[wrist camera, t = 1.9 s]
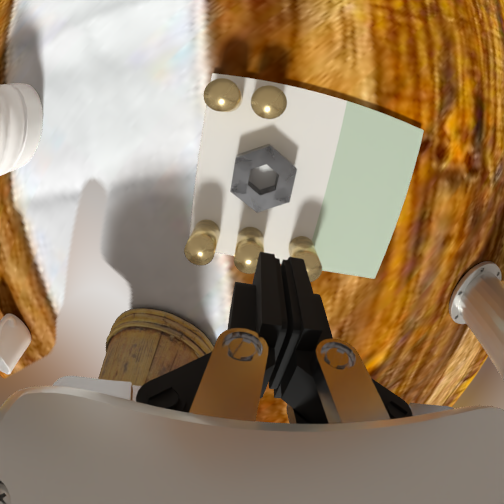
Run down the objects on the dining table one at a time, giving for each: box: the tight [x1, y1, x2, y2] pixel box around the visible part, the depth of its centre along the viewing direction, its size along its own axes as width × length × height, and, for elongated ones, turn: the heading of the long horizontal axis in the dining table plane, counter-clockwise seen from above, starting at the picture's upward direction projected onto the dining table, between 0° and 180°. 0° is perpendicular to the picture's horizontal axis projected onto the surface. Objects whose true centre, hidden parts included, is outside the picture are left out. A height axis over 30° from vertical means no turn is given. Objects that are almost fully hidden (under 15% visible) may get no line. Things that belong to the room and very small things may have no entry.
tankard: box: [98, 308, 214, 386], centre depth 32 cm, size 18×24×25 cm
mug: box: [0, 314, 31, 374], centre depth 38 cm, size 9×12×11 cm
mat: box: [189, 73, 424, 279], centre depth 30 cm, size 24×20×1 cm
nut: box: [230, 144, 297, 213], centre depth 28 cm, size 6×7×2 cm
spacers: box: [184, 78, 322, 282], centre depth 27 cm, size 14×18×5 cm
